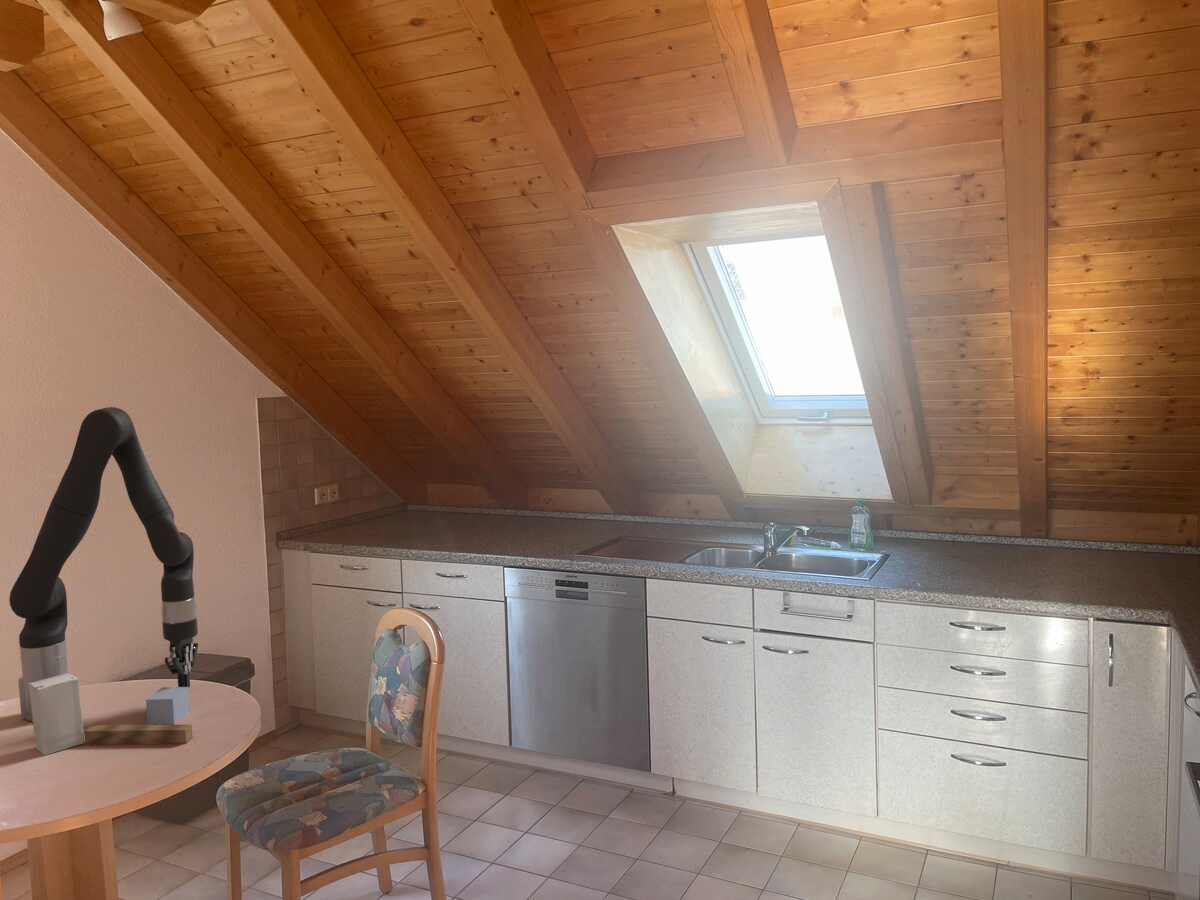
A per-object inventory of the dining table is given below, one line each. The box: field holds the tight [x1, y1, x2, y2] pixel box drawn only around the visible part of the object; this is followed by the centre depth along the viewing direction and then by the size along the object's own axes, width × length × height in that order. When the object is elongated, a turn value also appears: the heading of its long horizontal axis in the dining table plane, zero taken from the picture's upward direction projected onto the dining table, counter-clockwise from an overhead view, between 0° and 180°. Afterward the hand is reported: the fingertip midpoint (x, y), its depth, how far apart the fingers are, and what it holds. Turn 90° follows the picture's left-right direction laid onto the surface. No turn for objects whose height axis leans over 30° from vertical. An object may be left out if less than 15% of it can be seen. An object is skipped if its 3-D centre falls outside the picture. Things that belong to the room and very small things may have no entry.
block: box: [145, 686, 190, 725], centre depth 221 cm, size 6×8×6 cm
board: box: [83, 723, 194, 746], centre depth 207 cm, size 22×3×3 cm, turn 88°
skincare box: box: [29, 672, 85, 756], centre depth 205 cm, size 8×6×15 cm
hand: (184, 688), depth 229 cm, fingers closed
